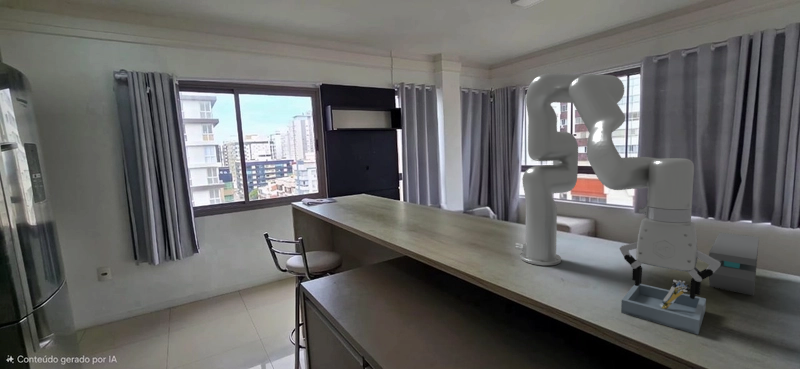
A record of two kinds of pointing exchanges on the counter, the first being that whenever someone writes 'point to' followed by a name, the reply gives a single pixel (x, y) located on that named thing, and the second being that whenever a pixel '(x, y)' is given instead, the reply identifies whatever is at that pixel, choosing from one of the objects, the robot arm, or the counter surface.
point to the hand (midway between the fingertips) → (664, 290)
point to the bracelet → (678, 288)
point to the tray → (678, 315)
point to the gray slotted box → (735, 263)
